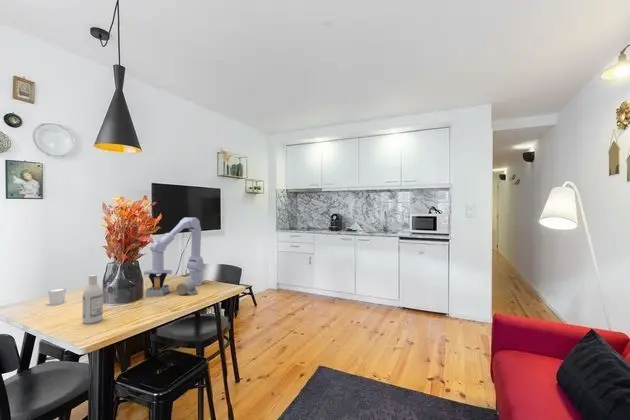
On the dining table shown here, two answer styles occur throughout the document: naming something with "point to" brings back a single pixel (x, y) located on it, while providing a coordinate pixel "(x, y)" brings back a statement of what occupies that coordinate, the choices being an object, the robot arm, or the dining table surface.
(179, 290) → the ceramic mug
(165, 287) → the rosette block
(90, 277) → the bath foam
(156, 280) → the wedge pin
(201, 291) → the dining table surface
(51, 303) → the white ribbed cup
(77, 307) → the dining table surface
